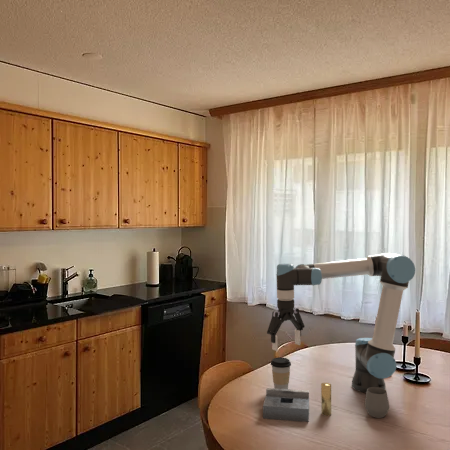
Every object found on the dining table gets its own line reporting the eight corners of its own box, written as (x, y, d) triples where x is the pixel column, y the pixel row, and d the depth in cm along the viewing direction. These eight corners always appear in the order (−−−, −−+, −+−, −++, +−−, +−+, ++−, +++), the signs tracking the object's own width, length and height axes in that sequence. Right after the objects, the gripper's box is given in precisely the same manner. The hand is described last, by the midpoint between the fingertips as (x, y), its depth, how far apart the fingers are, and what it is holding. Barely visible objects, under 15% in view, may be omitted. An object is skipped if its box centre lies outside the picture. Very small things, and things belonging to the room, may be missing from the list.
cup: (386, 422, 175) (386, 397, 174) (362, 417, 180) (361, 392, 179) (391, 413, 183) (391, 389, 183) (368, 408, 188) (368, 384, 187)
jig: (309, 407, 190) (309, 390, 189) (308, 421, 176) (308, 404, 176) (266, 404, 193) (266, 387, 193) (263, 418, 179) (262, 400, 179)
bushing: (331, 411, 185) (331, 382, 185) (331, 415, 181) (331, 386, 181) (321, 411, 186) (321, 382, 185) (321, 415, 182) (321, 385, 181)
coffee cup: (290, 397, 200) (290, 363, 200) (269, 395, 202) (269, 362, 202) (291, 389, 210) (291, 357, 209) (271, 387, 211) (271, 356, 211)
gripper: (300, 294, 207) (300, 340, 207) (258, 301, 193) (259, 350, 193) (311, 296, 201) (312, 343, 201) (269, 303, 186) (270, 354, 187)
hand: (286, 347), depth 197 cm, fingers open, 13 cm apart
